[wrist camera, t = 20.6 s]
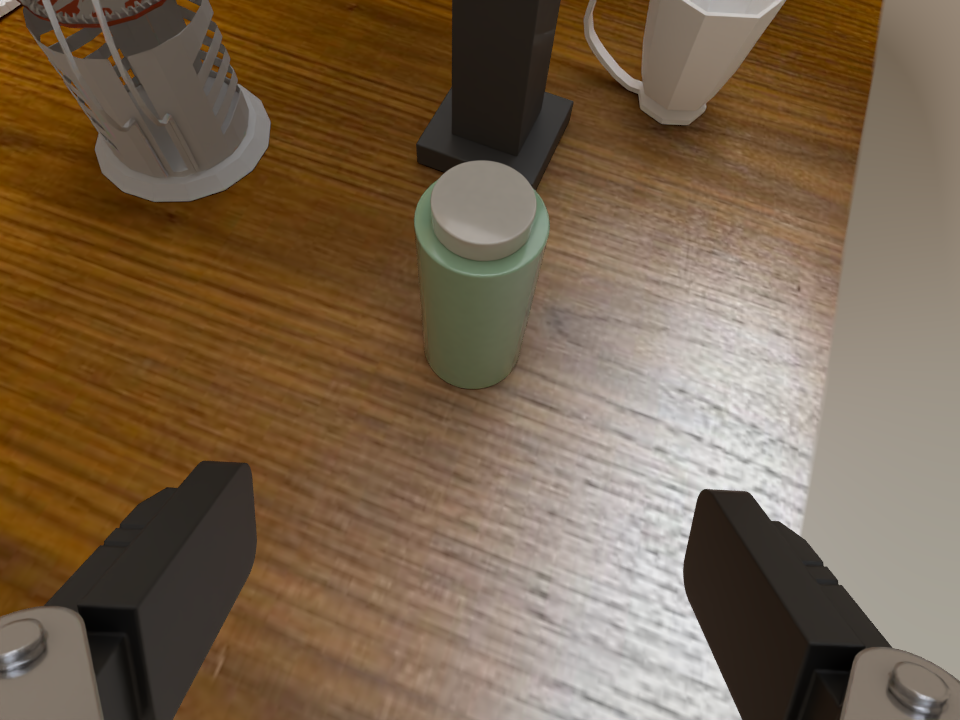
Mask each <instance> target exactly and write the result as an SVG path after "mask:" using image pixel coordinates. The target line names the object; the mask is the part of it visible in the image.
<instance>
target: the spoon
mask: <svg viewBox="0 0 960 720" xmlns="http://www.w3.org/2000/svg"><path fill="white" fill-rule="evenodd" d="M19 5H20V3H19V2H18V1H17V0H0V17H2V16H3V15H5V14H7V13H8V12H9V11H12V10H13V9H14V8H16V7H17V6H19Z"/></svg>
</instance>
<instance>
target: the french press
mask: <svg viewBox="0 0 960 720" xmlns="http://www.w3.org/2000/svg"><path fill="white" fill-rule="evenodd" d="M17 1H18V2H19V3H20V4H22V5H23V6H24V9H23V13H24V17H25V22H26V26H27V28H28V29H29V31H30V33H31V34H32V36H33V37H34V39H35V40H36V42H37V43H38V45H39V46H40V48H41V49H42V50H43V51H44V53H45V54H46V55H47V57H48V59H49V61H50V62H51V64H52V65H53V66H54V68H55V69H56V71H57V72H58V73H59V74H60V76H61V77H62V78H63V79H64V83H65V84H66V86H67V87H68V89H69V90H70V92H71V93H72V95H73V96H74V97H75V98H76V100H77V101H78V103H79V105H80V106H81V108H82V109H83V111H84V112H85V114H86V115H87V116H88V118H89V119H90V120H91V122H92V124H93V125H94V127H95V128H96V130H97V131H98V132H99V134H98V138H97V142H96V146H95V152H96V155H97V158H98V161H99V165H100V168H101V171H102V173H103V174H104V175H105V176H106V177H107V178H108V179H109V180H110V181H112V182H113V183H114V184H115V185H116V186H117V187H118V188H119V189H120V190H122V191H123V192H125V193H128V194H132V195H135V196H138V197H141V198H144V199H147V200H150V201H153V202H168V201H192V200H195V199H198V198H202V197H205V196H208V195H211V194H214V193H217V192H220V191H223V190H226V189H227V188H229V187H230V186H231V185H233V184H234V183H236V182H237V181H238V180H240V179H241V178H243V177H244V176H245V175H247V174H248V173H250V172H251V171H252V170H253V169H254V167H255V166H256V164H257V163H258V161H259V160H260V158H261V157H262V155H263V154H264V152H265V151H266V149H267V148H268V143H269V133H270V124H271V122H270V119H269V117H268V115H267V113H266V111H265V109H264V107H263V104H262V102H261V100H259V99H258V98H257V97H256V96H254V95H253V94H252V93H250V92H249V91H248V90H246V89H245V88H244V87H243V86H241V85H240V84H237V81H238V79H237V77H236V74H235V71H234V69H233V68H232V67H231V66H230V64H229V63H230V57H229V55H228V52H227V50H226V48H225V47H224V45H223V44H221V40H222V35H221V33H220V31H219V29H218V27H217V25H216V23H215V22H213V21H211V18H212V15H213V10H212V8H211V6H210V3H209V1H208V0H189V1H191V2H193V3H195V4H197V5H199V6H200V8H199V9H198V11H197V13H194V12H192V11H190V10H188V9H186V8H183V7H181V6H179V5H177V3H176V1H175V0H17ZM183 18H186V19H188V20H190V21H191V23H190V24H188V25H187V26H186V24H185V22H184V19H183ZM61 25H62V26H65V27H69V28H84V29H82V30H80V31H78V32H76V33H75V34H73V35H71V36H69V37H67V38H66V39H65V38H64V36H63V34H62V31H61V29H60V26H61ZM53 29H54V31H55V34H56V36H57V38H58V41H59V42H58V43H56V44H53V45H51V46H49V47H46V46H45V45H43V44H42V43H40V35H41V34H43V33H46V32H48V31H50V30H53ZM208 29H209V30H211V31H213V32H215V34H214V38H213V39H212V38H210V37H208V36H206V32H207V30H208ZM110 31H111V33H112V35H113V37H112V36H111V33H110ZM101 32H103V34H104V37H105V40H106V43H105V44H104V45H103V46H101V47H100V48H99V49H98V50H96V51H95V52H93V53H91V54H90V55H88V56H86V57H85V58H83V59H80V58H76V57H73V56H72V54H71V52H72V51H74V50H76V49H78V48H80V47H81V46H83V45H84V44H86V43H88V42H89V41H91V40H92V39H94V38H95V37H96V36H97V35H98V34H99V33H101ZM202 43H203V44H205V45H207V46H209V47H210V48H209V50H208V53H207V52H204V51H202V50H200V48H201V45H202ZM119 48H120V50H121V51H122V53H123V55H124V58H123V59H122V60H121V59H120V56H119V53H118V51H117V50H118V49H119ZM218 51H219V52H221V53H223V54H224V56H223V60H221V59H219V58H217V57H216V56H217V53H218ZM111 55H112V56H113V58H114V61H115V63H116V65H115V66H114V67H112V65H111V63H110V62H109V60H108V59H107V58H108V57H110V56H111ZM201 59H202V60H204V62H203V64H202V62H201ZM213 64H214V65H216V66H218V67H220V68H219V71H218V73H217V72H214V71H212V70H211V68H212V66H213ZM57 68H58V69H59V70H60V71H61V72H62V73H63V76H62V75H61V73H60V72H59V71H58V69H57ZM130 68H131V70H132V72H133V73H134V75H135V77H133V78H132V79H131V78H130V76H129V74H128V72H127V71H128V70H129V69H130ZM227 71H228V72H230V73H231V74H232V77H231V79H229V78H227V77H225V76H226V73H227ZM120 76H122V78H123V79H124V81H125V83H126V85H124V86H123V84H122V82H121V81H120V79H119V77H120ZM71 81H72V82H73V83H74V85H75V86H76V88H77V89H78V90H77V89H76V88H75V87H74V86H72V85H71ZM72 91H73V92H75V93H76V94H77V97H78V99H77V97H76V96H75V95H74V93H73V92H72ZM84 102H85V103H86V104H88V106H89V107H90V109H91V110H90V109H88V108H87V107H86V106H85V103H84ZM86 112H87V113H88V114H89V115H90V116H91V118H90V117H89V115H88V114H87V113H86Z"/></svg>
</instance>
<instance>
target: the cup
mask: <svg viewBox="0 0 960 720" xmlns="http://www.w3.org/2000/svg"><path fill="white" fill-rule="evenodd" d="M785 1H786V0H650V2H649V8H648V14H647V20H646V26H645V32H644V38H643V53H642V80H643V82H642V81H639V80H636V79H633V78H632V77H631V76H630V75H628V74H627V73H626V72H625V71H624V70H623V69H621V68H620V67H619V65H618V64H617V63H616V62H615V60H614V59H613V58H612V57H611V56H610V54H609V53H608V52H607V50H606V49H605V48H604V46H603V45H602V44H601V42H600V40H599V38H598V36H597V35H596V33H595V31H594V28H593V14H592V12H593V9H594V6H595V3H596V0H590V1H589V4H588V7H587V10H586V14H585V17H584V30H585V38H586V40H587V42H588V44H589V46H590V48H591V50H592V52H593V53H594V55H595V56H596V57H597V59H598V60H599V61H600V62H601V64H602V65H603V66H604V67H605V68H606V70H607V71H608V72H609V73H610V74H611V76H612V77H613V78H614V79H615V80H617V81H618V82H619V83H620V84H621V85H622V86H624V87H625V88H626V89H627V90H629V91H632V92H634V93H637V94H638V96H639V104H640V109H641V110H642V111H644V112H645V113H647V114H648V115H649V116H651V117H652V118H654V119H655V120H656V121H658V122H659V123H661V124H672V125H689V124H690V123H692V122H693V121H694V120H695V119H696V118H698V117H699V116H700V115H701V114H703V113H704V112H705V110H706V108H707V107H706V103H707V102H708V101H709V100H710V99H711V98H713V97H714V96H715V95H716V93H717V92H718V91H719V90H720V89H721V88H722V87H723V85H724V84H725V83H726V82H727V81H728V80H729V79H730V77H731V76H732V75H733V74H734V73H735V72H736V71H737V69H738V68H739V66H740V65H741V63H742V62H743V60H744V59H745V58H746V56H747V55H748V53H749V52H750V50H751V49H752V48H753V46H754V45H755V43H756V42H757V40H758V39H759V37H760V36H761V35H762V33H763V32H764V31H765V29H766V28H767V26H768V25H769V24H770V22H771V21H772V20H773V18H774V17H775V15H776V14H777V13H778V11H779V10H780V8H781V7H782V5H783V4H784V3H785Z"/></svg>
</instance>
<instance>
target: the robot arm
mask: <svg viewBox="0 0 960 720" xmlns="http://www.w3.org/2000/svg"><path fill="white" fill-rule="evenodd" d="M256 544H257V535H256V522H255V509H254V496H253V483H252V473H251V469H250V466H249V465H248V464H247V463H236V462H218V461H202V462H200V463H199V464H198V465H197V466H196V467H195V469H194V470H193V471H192V472H191V473H190V474H189V476H188V477H187V478H186V479H185V480H184V481H183V483H182V484H181V485H180V486H179V487H178V488H168V487H167V488H165V489H164V490H162V491H160V492H158V493H157V494H155V495H153V496H152V497H150V498H148V499H146V500H145V501H143V502H141V503H140V504H138V505H137V506H136V508H135V509H134V510H133V511H132V512H131V513H130V514H129V515H128V516H127V517H126V518H125V519H124V520H123V521H122V523H121V524H120V528H116V529H115V530H114V531H113V532H112V533H111V534H110V535H109V536H108V538H107V539H106V540H105V541H104V545H103V546H101V545H100V546H99V547H98V548H97V549H96V550H95V552H94V553H93V554H92V555H91V556H90V557H89V558H88V559H87V560H86V561H85V562H84V563H83V564H82V565H81V567H80V568H79V569H78V570H77V571H76V572H75V573H74V574H73V575H72V576H71V577H70V578H69V579H68V580H67V582H66V583H65V584H64V585H63V586H62V587H61V588H60V589H59V590H58V591H57V592H56V593H55V594H54V596H53V597H52V598H51V599H50V600H49V601H48V602H47V603H46V604H45V605H44V606H40V607H33V608H28V609H24V610H20V611H17V612H13V613H11V614H8V615H5V616H2V617H0V720H173V718H174V716H175V714H176V712H177V710H178V708H179V707H180V705H181V703H182V701H183V699H184V697H185V695H186V693H187V691H188V690H189V688H190V686H191V684H192V682H193V680H194V678H195V676H196V674H197V673H198V671H199V669H200V667H201V665H202V663H203V661H204V659H205V657H206V656H207V654H208V652H209V650H210V648H211V646H212V644H213V642H214V640H215V639H216V637H217V635H218V633H219V631H220V629H221V627H222V625H223V623H224V621H225V620H226V618H227V616H228V614H229V612H230V610H231V608H232V606H233V604H234V603H235V601H236V599H237V597H238V595H239V593H240V591H241V589H242V587H243V586H244V584H245V582H246V580H247V578H248V576H249V574H250V572H251V569H252V566H253V563H254V559H255V553H256ZM683 577H684V586H685V591H686V594H687V597H688V600H689V602H690V604H691V607H692V609H693V611H694V613H695V615H696V618H697V620H698V622H699V624H700V627H701V629H702V631H703V633H704V635H705V638H706V640H707V642H708V644H709V647H710V649H711V651H712V653H713V655H714V658H715V660H716V662H717V664H718V667H719V669H720V671H721V673H722V676H723V678H724V680H725V682H726V684H727V687H728V689H729V691H730V693H731V696H732V698H733V700H734V702H735V704H736V707H737V709H738V711H739V713H740V716H741V718H742V720H960V681H959V680H957V679H956V678H955V677H953V676H952V675H951V674H949V673H948V672H947V671H945V670H944V669H942V668H940V667H939V666H937V665H935V664H934V663H932V662H930V661H928V660H925V659H924V658H922V657H919V656H917V655H914V654H912V653H909V652H906V651H903V650H899V649H894V648H892V647H891V646H890V644H889V643H888V642H887V641H886V639H885V638H884V637H883V636H882V635H881V633H880V632H879V631H878V629H877V628H876V627H875V626H874V624H873V623H872V622H871V621H870V620H869V618H868V617H867V616H866V615H865V613H864V612H863V611H862V610H861V608H860V607H859V606H858V605H857V603H856V602H855V601H854V600H853V598H852V597H851V596H850V595H849V593H848V592H847V591H846V590H845V589H844V587H843V586H842V585H838V580H837V579H836V577H835V576H834V575H833V574H832V572H831V571H830V570H829V569H828V567H824V566H823V562H822V560H821V559H820V558H819V556H818V555H817V554H816V553H815V551H814V550H813V549H812V548H811V546H810V545H809V544H808V543H807V541H806V540H804V539H803V538H802V537H800V536H799V535H797V534H796V533H795V532H793V531H792V530H790V529H789V528H788V527H786V526H785V525H783V524H782V523H781V522H779V521H771V520H770V519H769V517H768V516H767V515H766V513H765V512H764V511H763V509H762V508H761V507H760V505H759V504H758V503H757V502H756V500H755V499H754V498H753V496H752V495H751V494H750V493H748V492H746V491H730V490H712V489H704V490H702V491H701V492H700V494H699V496H698V499H697V503H696V508H695V512H694V517H693V522H692V526H691V531H690V536H689V540H688V545H687V550H686V554H685V559H684V567H683Z"/></svg>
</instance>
